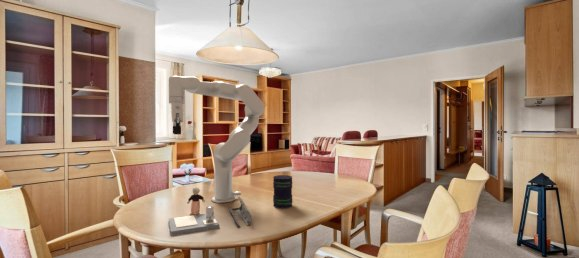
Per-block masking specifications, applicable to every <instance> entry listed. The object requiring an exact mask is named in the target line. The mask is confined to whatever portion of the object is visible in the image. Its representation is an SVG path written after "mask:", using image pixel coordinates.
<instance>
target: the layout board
mask: <svg viewBox="0 0 579 258" xmlns="http://www.w3.org/2000/svg"><path fill="white" fill-rule="evenodd" d="M168 224H169V225H168V226H169V232H170V236H176V235H177V234H178V235H183V234H189V233H197V232H202V231H208V230H214V229H219V228H220V223H219V221H218V220H217V218H216V217H215V216H214V222H211V223H207V222H206V213H202V214H199V215H196V214H194V215H187V216H186V215H185V216H180V217H178V216H177V217H170V218H168ZM196 231H197V232H196ZM178 235H177V236H178Z"/></svg>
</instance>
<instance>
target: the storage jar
mask: <svg viewBox="0 0 579 258" xmlns="http://www.w3.org/2000/svg"><path fill="white" fill-rule="evenodd" d="M272 178H273V182H272V184H273V187H272V188H273V197H272V198H273V199H272V202H273V207H274V208H275V209H281V210H284V209H290V208H292V207H293V194H292V193H293V192H292V191H293V190H292V189H293V176H292V175H284V174H280V175H274V176H273V177H272Z"/></svg>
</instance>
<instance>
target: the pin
mask: <svg viewBox="0 0 579 258" xmlns="http://www.w3.org/2000/svg"><path fill="white" fill-rule="evenodd" d="M214 208H215V207H214V206H213V205H208V206H205V214H206V222H207V223H211V222H214V217H215V216H214V214H215V213H214V212H215V211H214V210H215V209H214Z"/></svg>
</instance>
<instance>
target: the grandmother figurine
mask: <svg viewBox="0 0 579 258" xmlns="http://www.w3.org/2000/svg"><path fill="white" fill-rule="evenodd" d="M200 191H201V190H200V188H199V187H197V186H194V187H192V191H191V192H192V194H191V195H190V197H189V198H188V200H187V204H190V202H191V205H190V214H189V216H192V215H200V211H201V201H202V203H205V198H204V196H202V195H201V194H199V193H200Z"/></svg>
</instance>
